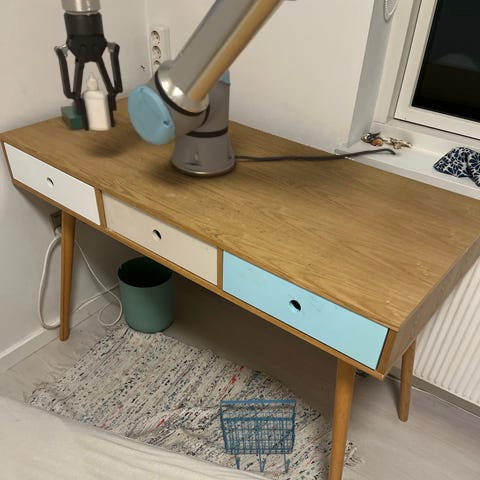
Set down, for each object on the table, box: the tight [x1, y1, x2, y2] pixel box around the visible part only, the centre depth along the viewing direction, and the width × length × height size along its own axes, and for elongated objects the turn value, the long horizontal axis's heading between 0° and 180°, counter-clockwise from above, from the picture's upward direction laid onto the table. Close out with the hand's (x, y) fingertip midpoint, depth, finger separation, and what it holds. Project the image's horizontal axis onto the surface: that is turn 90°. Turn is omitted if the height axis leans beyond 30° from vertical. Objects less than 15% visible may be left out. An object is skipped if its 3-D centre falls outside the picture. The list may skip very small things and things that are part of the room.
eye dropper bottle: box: [81, 71, 112, 132], centre depth 113 cm, size 4×6×12 cm
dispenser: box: [59, 100, 84, 131], centre depth 140 cm, size 12×10×5 cm
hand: (98, 126), depth 117 cm, fingers closed on eye dropper bottle, 5 cm apart
